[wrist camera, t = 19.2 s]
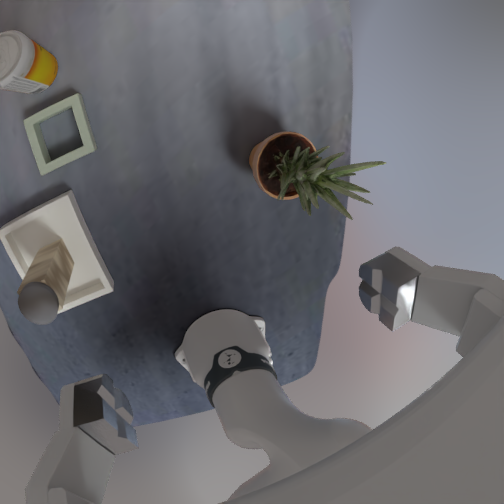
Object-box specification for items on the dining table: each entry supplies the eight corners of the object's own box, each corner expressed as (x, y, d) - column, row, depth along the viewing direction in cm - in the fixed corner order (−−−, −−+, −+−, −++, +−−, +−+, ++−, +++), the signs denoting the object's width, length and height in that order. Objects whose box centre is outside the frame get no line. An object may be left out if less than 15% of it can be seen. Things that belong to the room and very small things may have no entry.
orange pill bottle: (53, 45, 26) (19, 16, 14) (64, 80, 30) (31, 64, 17) (16, 67, 25) (-31, 51, 13) (27, 102, 28) (-20, 100, 16)
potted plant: (274, 116, 43) (396, 133, 23) (303, 162, 48) (421, 210, 28) (223, 155, 43) (316, 203, 23) (258, 201, 48) (357, 276, 28)
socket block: (97, 148, 36) (95, 150, 33) (47, 172, 34) (41, 176, 31) (81, 94, 31) (77, 93, 29) (30, 119, 30) (23, 120, 27)
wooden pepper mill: (77, 264, 40) (65, 316, 29) (51, 276, 39) (33, 329, 28) (63, 234, 38) (42, 280, 27) (36, 248, 37) (10, 296, 26)
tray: (113, 281, 45) (113, 290, 42) (49, 307, 42) (47, 318, 39) (71, 189, 36) (67, 194, 34) (3, 224, 34) (-3, 232, 31)
